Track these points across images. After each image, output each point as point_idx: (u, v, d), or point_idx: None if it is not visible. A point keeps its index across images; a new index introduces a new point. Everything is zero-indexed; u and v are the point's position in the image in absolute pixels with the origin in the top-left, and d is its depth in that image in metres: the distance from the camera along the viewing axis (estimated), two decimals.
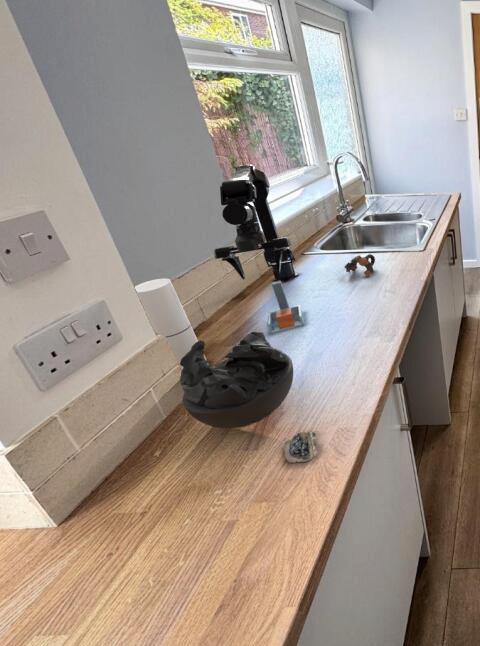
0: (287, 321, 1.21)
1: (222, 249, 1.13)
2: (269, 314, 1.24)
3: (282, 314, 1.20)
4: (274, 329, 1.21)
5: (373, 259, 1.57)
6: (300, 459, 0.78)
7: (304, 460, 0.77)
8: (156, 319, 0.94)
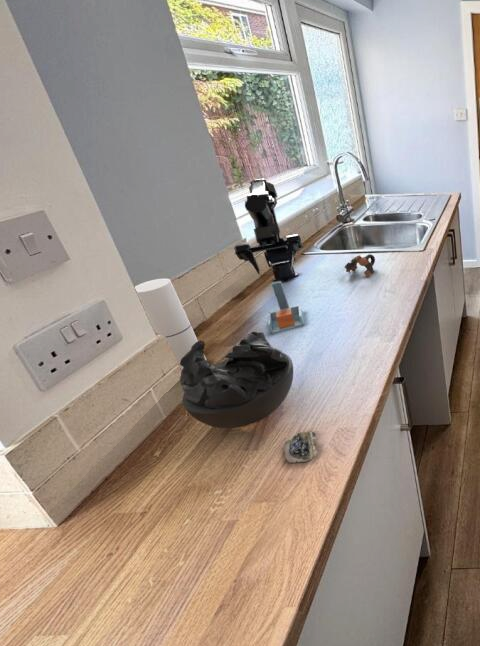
0: (287, 321, 1.21)
1: (242, 244, 1.26)
2: (269, 314, 1.24)
3: (282, 314, 1.20)
4: (274, 329, 1.21)
5: (373, 259, 1.57)
6: (300, 459, 0.78)
7: (304, 460, 0.77)
8: (156, 319, 0.94)
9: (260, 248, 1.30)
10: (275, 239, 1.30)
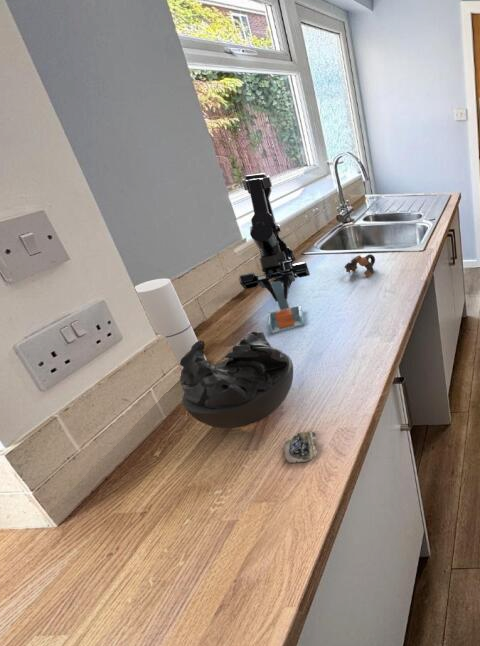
0: (287, 321, 1.21)
1: (247, 274, 1.22)
2: (269, 314, 1.24)
3: (282, 314, 1.20)
4: (274, 329, 1.21)
5: (373, 259, 1.57)
6: (300, 459, 0.78)
7: (304, 460, 0.77)
8: (156, 319, 0.94)
9: None
10: (281, 268, 1.26)
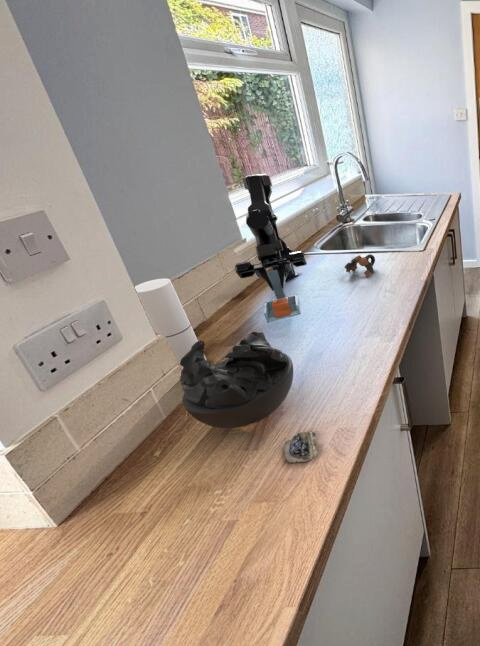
0: (283, 310, 1.19)
1: (243, 263, 1.20)
2: (265, 303, 1.22)
3: (278, 303, 1.19)
4: (270, 318, 1.19)
5: (373, 259, 1.57)
6: (300, 459, 0.78)
7: (304, 460, 0.77)
8: (156, 319, 0.94)
9: None
10: (278, 256, 1.24)
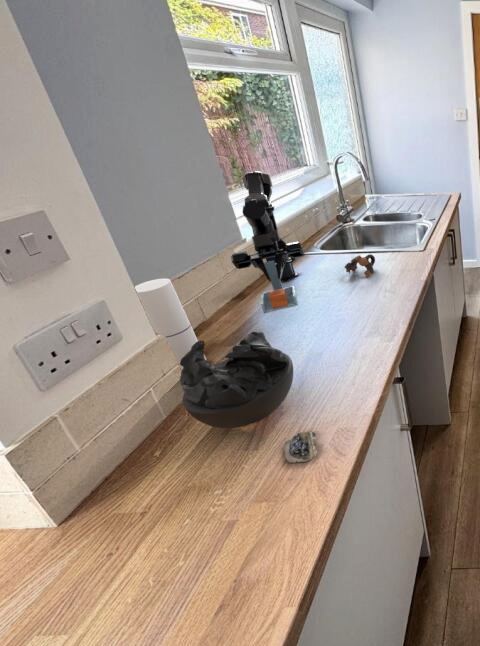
0: (280, 301, 1.18)
1: (239, 253, 1.19)
2: (262, 294, 1.21)
3: (275, 294, 1.18)
4: (267, 309, 1.18)
5: (373, 259, 1.57)
6: (300, 459, 0.78)
7: (304, 460, 0.77)
8: (156, 319, 0.94)
9: None
10: (274, 247, 1.23)
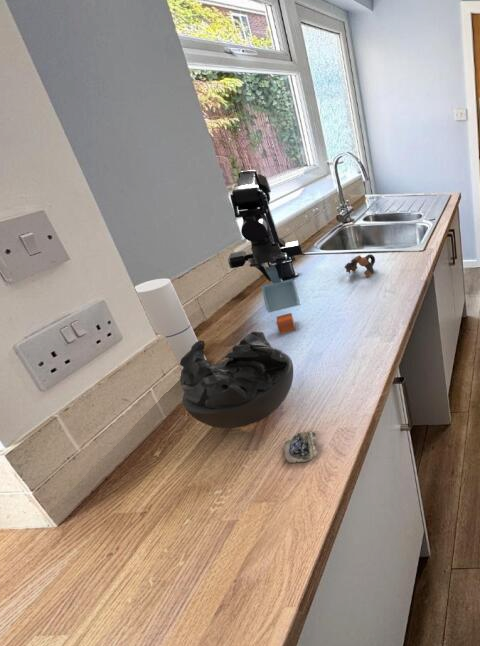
0: None
1: (237, 258, 1.14)
2: (263, 290, 1.24)
3: (286, 329, 1.19)
4: (271, 308, 1.25)
5: (373, 259, 1.57)
6: (300, 459, 0.78)
7: (304, 460, 0.77)
8: (156, 319, 0.94)
9: None
10: None
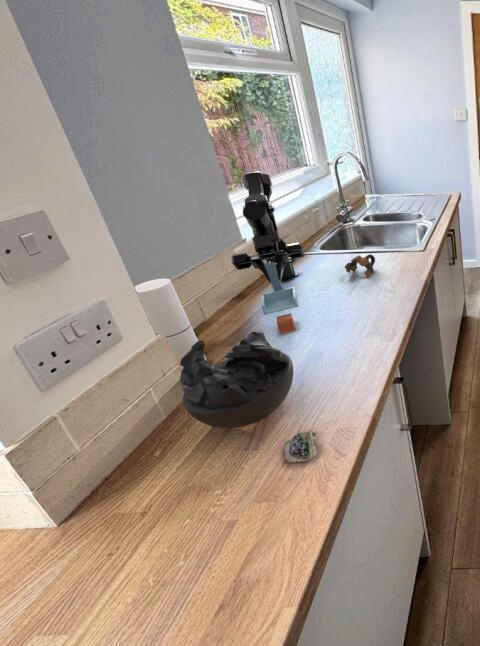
0: None
1: (239, 254, 1.19)
2: (262, 295, 1.21)
3: (286, 329, 1.19)
4: (267, 311, 1.18)
5: (373, 259, 1.57)
6: (300, 459, 0.78)
7: (304, 460, 0.77)
8: (156, 319, 0.94)
9: None
10: (275, 248, 1.23)
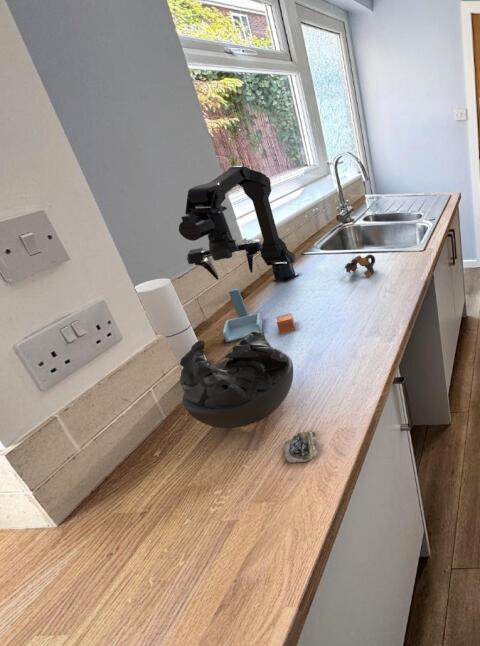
0: None
1: (195, 255, 1.18)
2: (226, 322, 1.20)
3: (286, 329, 1.19)
4: (230, 338, 1.17)
5: (373, 259, 1.57)
6: (300, 459, 0.78)
7: (304, 460, 0.77)
8: (156, 319, 0.94)
9: None
10: None
